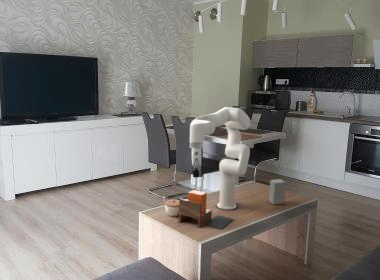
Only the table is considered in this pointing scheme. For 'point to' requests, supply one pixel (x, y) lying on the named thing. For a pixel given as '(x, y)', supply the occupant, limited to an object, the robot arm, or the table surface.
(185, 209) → the wooden toy chair
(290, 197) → the table surface
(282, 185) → the cosmetic box
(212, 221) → the mat
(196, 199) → the block
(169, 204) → the trinket box
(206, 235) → the table surface
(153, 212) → the table surface
